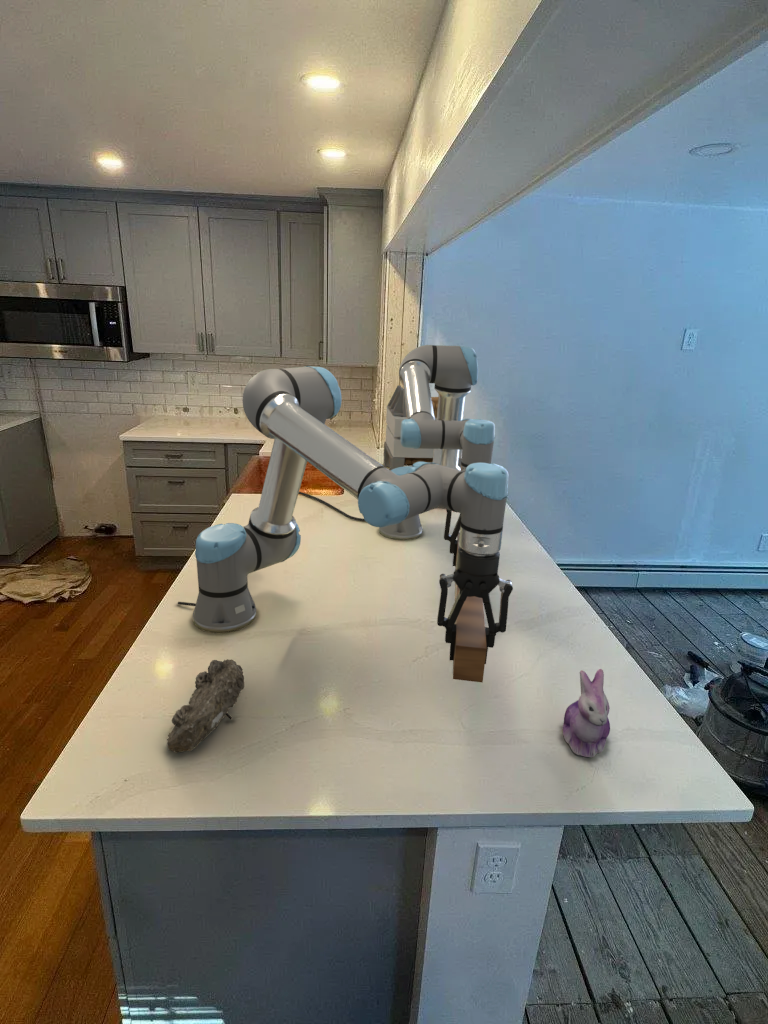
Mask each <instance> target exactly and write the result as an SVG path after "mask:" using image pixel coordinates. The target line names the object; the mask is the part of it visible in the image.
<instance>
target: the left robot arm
mask: <svg viewBox="0 0 768 1024" xmlns="http://www.w3.org/2000/svg"><path fill="white" fill-rule="evenodd" d="M342 398H343V397H342V390H341V387H340V386H339V382H338V379H337V378H336V377H335V376H334V374H333V373H332V372H331V371H330V370H328V369H327V368H325V367H322V366H311V365H306V366H300V367H298V366H297V367H283V368H267V369H263V370H261V371H259V372H257V373H256V374H254V375H253V376H252V377H251V378H250V379H249V380H248V381H247V383H246V385H245V387H244V389H243V392H242V408H243V412H244V415H245V417H246V418H247V420H248V421H249V423H250V424H251V426H252V427H253V428H255V429H256V430H257V431H258V432H259V433H260V434H261V435H263V436H264V437H266V438H268V439H271V440H273V444H272V447H271V452H270V455H269V461H268V465H267V469H266V474H265V478H264V482H263V486H262V491H261V495H260V500H259V503H258V506H257V507H255V508H254V509H252V510H251V512H250V515H249V519H248V522H247V524H246V525H241V524H239V523H236V522H235V523H234V522H226V523H224V524H223V523H218V524H214V525H212V526H209V527H206V528H205V529H203V530H201V532H200V533H199V534H198V535H197V537H196V539H195V552H194V556H195V560H196V572H197V573H196V574H197V584H198V586H197V587H198V594H197V597H196V601H195V603H194V602H186V601H178V602H177V604H178V605H180V606H189V607H194V609H193V611H192V620H193V625H194V626H195V627H196V628H197V629H199V630H201V631H203V632H206V633H211V634H227V633H233V632H237V631H240V630H243V629H245V628H247V627H248V626H250V625H251V624H253V622H254V621H255V620H256V618H257V607H256V604H255V601H254V599H253V595H252V594H251V592H250V589H249V585H248V575H249V574H251V573H254V572H256V571H260V570H263V569H266V568H268V567H271V566H274V565H277V564H280V563H284V562H285V561H286V560H288V559H290V558H292V557H293V556H295V554H297V553H298V551H299V549H300V546H301V542H302V536H301V534H300V532H301V530H300V527H299V524H298V523H297V521H296V518H295V517H294V512H295V508H296V504H297V500H298V496H299V494H298V493H299V492H300V490H301V486H302V482H303V478H304V475H305V472H306V468H307V464H310V465H312V466H313V467H314V468H315V469H316V470H318V471H319V472H320V473H322V474H323V475H325V476H326V477H327V478H329V479H330V480H331V481H333V482H334V483H335V484H336V485H338V486H339V487H340V488H342V489H343V490H344V491H346V492H347V493H348V494H349V495H351V496H352V497H354V498H355V499H356V500H357V506H358V511H359V514H361V515H362V517H363V519H364V520H365V521H366V523H367V524H368V525H370V526H371V527H374V528H379V527H386V526H390V525H394V524H398V523H400V522H402V521H403V520H406V519H408V518H411V517H413V516H416V515H419V516H420V515H421V514H425V513H427V512H430V511H432V510H434V509H438V508H439V509H444V510H446V509H447V510H451V511H452V512H455V513H459V514H460V513H461V525H460V531H459V532H460V536H459V546H460V548H459V549H458V557H457V568H456V570H455V569H454V571H453V573H452V574H447V575H446V574H445V573H441V574H440V575H439V583H438V584H439V588H440V596H439V604H438V609H437V610H438V612H437V620H436V624H437V626H439V627H444V628H445V633H444V634H445V636H444V642H445V644H450V645H449V661H452V662H453V659H454V648H455V638H456V624H455V622H456V619H457V617H458V615H459V613H460V610H461V608H462V606H463V604H464V602H465V600H466V598H467V597H472V596H475V597H478V598H482V599H483V605H484V614H485V615H486V616H485V618H486V623H487V626H485V632H486V645H487V651H486V659H485V665H487V659H488V652H489V648H490V649H491V648H492V649H493V648H494V647H495V643H496V642H495V641H496V635H497V633H505V632H506V631H507V625H508V614H509V613H508V612H509V600H510V596H511V594H512V592H513V590H514V586H513V582H512V580H511V579H506V580H505V579H502V578H500V576H499V566H500V557H501V554H500V550H501V548H502V547H501V546H502V538H503V530H504V520H505V513H506V507H507V499H508V496H509V472H508V470H507V468H506V467H504V466H502V465H499V464H497V463H492V462H491V463H490V464H489V463H472V464H470V465H468V466H467V468H466V471H461V470H457V469H453V468H449V467H445V466H441V465H439V464H436V463H432V462H431V463H428V462H416V463H414V464H413V465H412V467H411V468H409V469H408V471H407V473H406V474H404V475H400V476H399V475H396V474H395V473H393V472H392V471H391V470H390V468H387V466H384V464H382V463H380V462H378V461H377V460H376V459H375V458H373V457H372V456H370V455H369V454H367V453H366V452H365V451H363V450H362V449H360V448H359V447H357V446H356V445H355V444H353V443H352V442H350V441H349V440H348V439H346V438H345V437H344V436H342V435H341V434H339V433H338V432H336V431H334V430H333V429H332V428H330V427H329V426H328V425H326V421H327V420H331V419H332V418H334V417H335V416H337V415H338V413H339V412H340V409H341V408H342ZM365 521H364V522H365ZM453 582H454V584H455V583H456V584H457V586H458V587H459V589H460V590H459V593H458V595H457V598H456V600H455V599H454V602H453V605H452V607H451V610H450V612H449V614H448V616H447V617H446V608H447V601H448V593H449V588H451V587H452V583H453ZM497 586H498V587H499V592H500V601H499V602H500V603H499V614H498V615H499V616H498V622H496V621H495V616H494V612H493V607H492V602H491V597H490V594H491V593H492V591H493V590H494V589H495V588H497Z"/></svg>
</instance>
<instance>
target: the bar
mask: <svg viewBox="0 0 768 1024" xmlns="http://www.w3.org/2000/svg"><path fill="white" fill-rule="evenodd" d="M459 536H460V531H459V533H458V536H457V538H456V540H458V545H457V556H456V566H454V568H455V569H454V571H455V570H456V568H457V557H458V549H459V548H460V546H459ZM459 590H460V589H459V587H458V586H457V584H456V583H455V582H454V601H455V600H456V598H457V595H458V593H459ZM455 624H456V638H455V648H454V659H453V661H452V680H454V681H455V680H456V681H465V682H474V683H484V676H485V668H486V667H485V666H486V664H485V659H486V651H487V645H486V632H485V627H486V619H485V608H484V603H483V599H482V598H478V597H475V596H472V597H467V598H466V600H465V602H464V604H463V606H462V608H461V610H460V613H459V615H458V617H457V619H456V622H455ZM487 652H488V651H487Z"/></svg>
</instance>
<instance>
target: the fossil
mask: <svg viewBox="0 0 768 1024" xmlns="http://www.w3.org/2000/svg"><path fill="white" fill-rule="evenodd" d="M243 670H244V669H243V667H242V665H240V664H237V662H236V661H235V660H234V659H232V658H231V659H227V658H226V659H224V660H223V661H222V660H217V659H212V660H211V661H210V663H209V665H208V666H207V671H201V672H199V673H198V674H197V675H196V676H195V680H194V684H195V685H194V687H195V689H194V690H193V693H192V694H191V697H190V698H189V700H188V704H184V705H182V706H181V707H180V709H177V710H176V711H175V713H174V715H173V716H172V718H171V723H172V724H173V727H172V730H171V731H170V732H168V734H167V738H166V741H167V742H166V745H167V749H168V750H169V751H173V752H174V753H176V754H178V753H182V752H188V751H189V752H192V751H193V750H195V748H196V747H197V746H199V744H200V743H201V742H203V741H204V740H205V739H206V738H207V737H208V736H209V735H210V734H211V733H212V732H214V730H215V729H217V727H218V726H219V724H220V722H221V721H222V720H223V719H224V718H225V716H226V717H227V719H229V720H233V717H232V715H230V714H229V710H230V709H231V708H234V706H235V704H236V703H237V702H238V699H239V697H240V695H241V693H242V691H243V690H245V689H244V688H245V675H244V671H243Z"/></svg>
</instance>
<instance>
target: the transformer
mask: <svg viewBox="0 0 768 1024" xmlns="http://www.w3.org/2000/svg"><path fill="white" fill-rule="evenodd" d="M438 397H439V396H431V399H432V405H433V411H434V417H435V420H436V419H437V408H438ZM385 414H386V415H385V423H386V428H385V438H384V442H383V464H382V465H383V466H384V467H386V468H387V467H388V468H389V470H392V469H395V468H398V467H404V466H412V465H413V464H414V463H416V462H428V463H431V462H432V463H433V453H434V449H414V448H407V447H403V446H402V445H401V436H400V434H401V423H402V421H403V420H404V419H407V416H406V406H405V396H404V387H402V385H399V384H398V385H397V386H396V388H395V390H394V392H393V394H392V395H391V398H390V400H389V402H388V404H387V405H386V413H385ZM461 460H462V450H459V458H458V466H459V467H460V468H461Z"/></svg>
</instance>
